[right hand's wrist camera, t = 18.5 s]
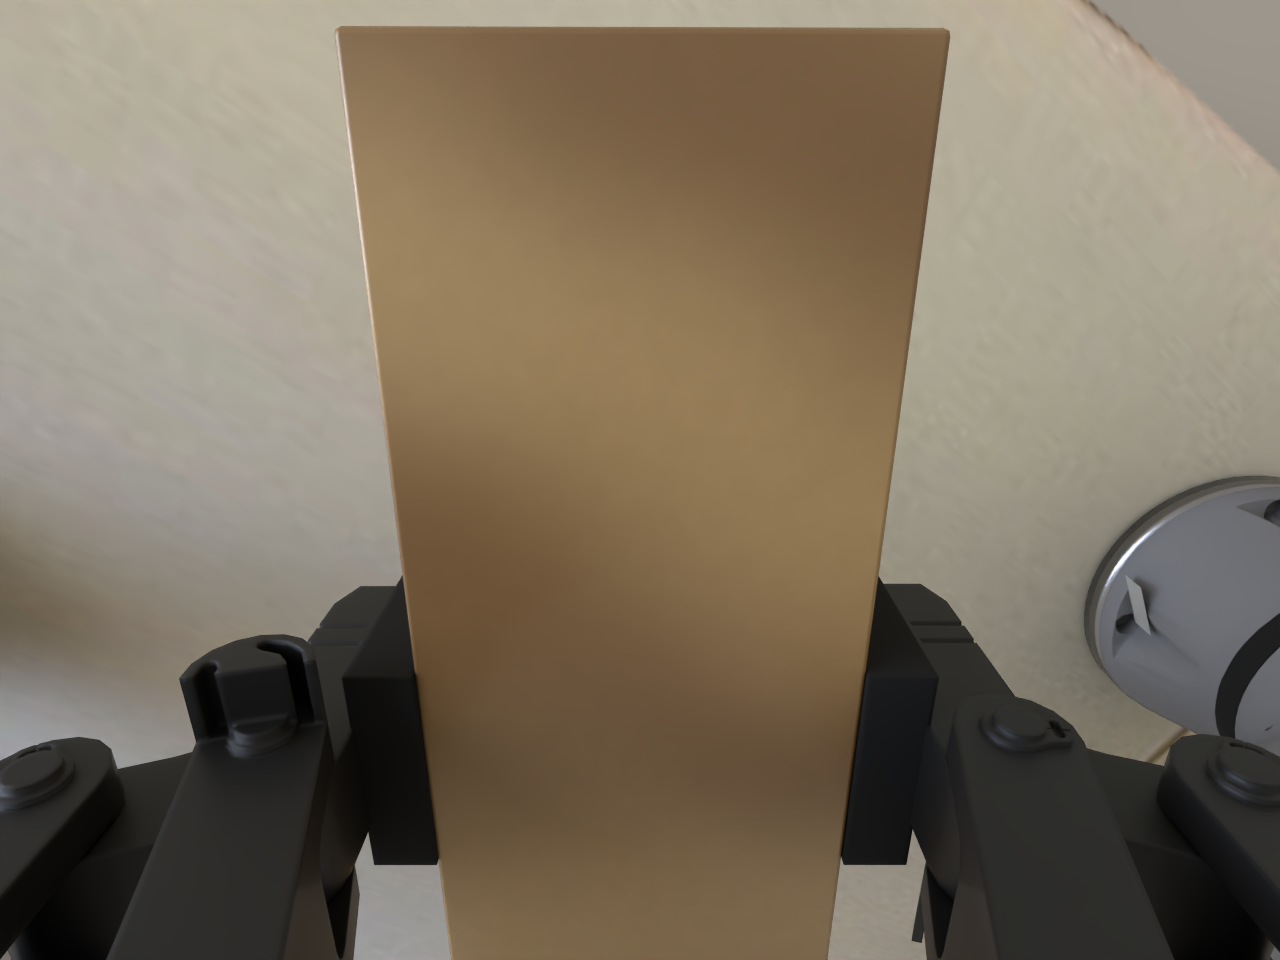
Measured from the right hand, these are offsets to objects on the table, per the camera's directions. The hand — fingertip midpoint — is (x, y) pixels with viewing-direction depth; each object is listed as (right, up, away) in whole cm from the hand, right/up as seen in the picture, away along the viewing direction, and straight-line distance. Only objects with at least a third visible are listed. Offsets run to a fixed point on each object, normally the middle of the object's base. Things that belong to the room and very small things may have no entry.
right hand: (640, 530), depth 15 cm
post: (0, -18, +8) cm, 19 cm away
